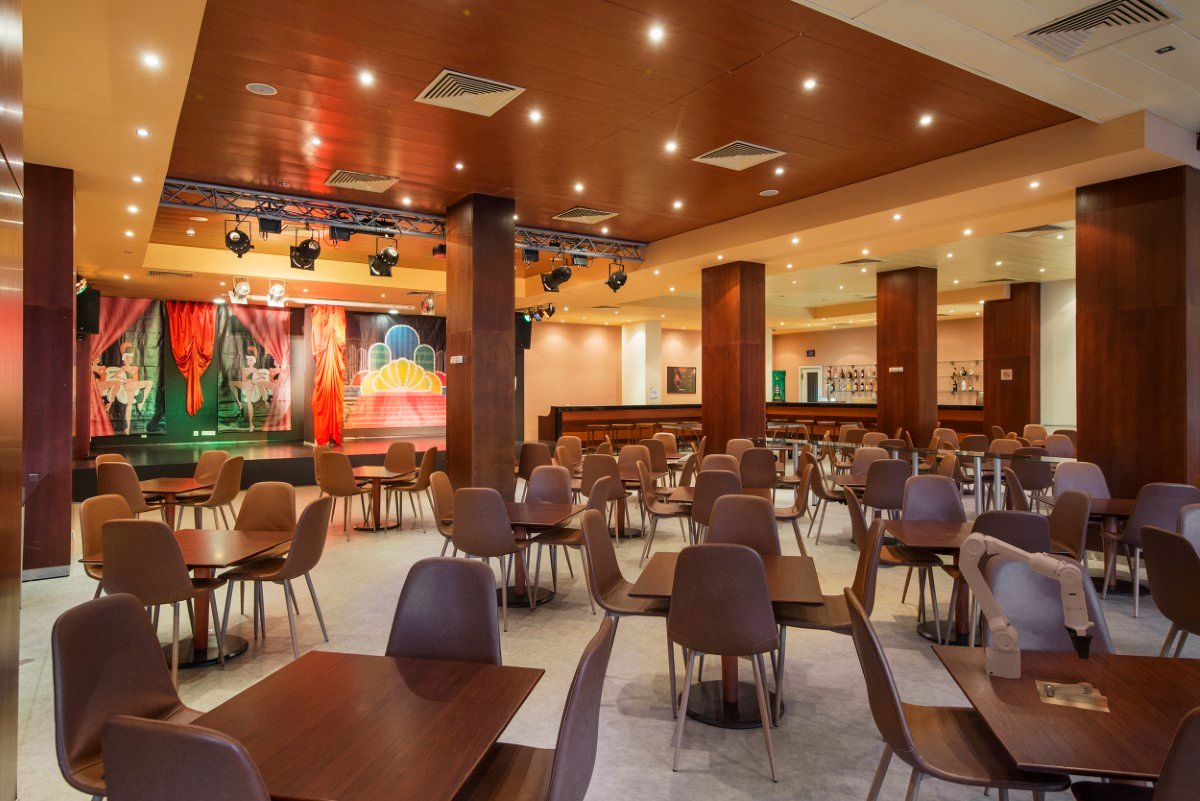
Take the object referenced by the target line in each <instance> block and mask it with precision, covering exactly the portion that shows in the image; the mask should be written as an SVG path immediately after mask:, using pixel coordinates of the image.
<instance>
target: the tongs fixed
mask: <svg viewBox="0 0 1200 801" xmlns="http://www.w3.org/2000/svg"><path fill="white" fill-rule="evenodd" d="M1038 690H1039V692H1038V694H1039V698H1040V697H1044V698H1047V697H1054V686H1053V685H1050V684H1044V688H1038V689H1037V691H1038ZM1056 699H1059V700H1066V701H1072V702H1079V703H1086V704H1093V705H1096V706H1101V707H1108V705H1109V704H1108V701H1109V700H1108V697H1107V696H1106V695H1101V696H1100V695H1088V694H1081V693H1074V692H1067V691H1060V690H1056ZM1108 708H1109V707H1108Z"/></svg>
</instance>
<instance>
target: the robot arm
mask: <svg viewBox="0 0 1200 801" xmlns="http://www.w3.org/2000/svg"><path fill="white" fill-rule="evenodd" d="M986 551H987V553H986V554H987V555H994V554H995V555H996V554H1000V555H1002V556H1005V557H1008V558H1011V559H1014V560H1016V561H1019V562H1022V563H1024V564H1027V566H1028V567H1029V569H1030V570H1031V571H1033V572H1035V573H1038V574H1040V575H1043V576H1045V577H1047V578H1050V579H1052V580H1058V582H1059V584H1060V588H1061V590H1060V595H1061V603H1062V608H1063V616H1064V626H1063V627H1064V628H1065V630H1066V631H1067V633H1068V636H1069V637H1070V640H1071V643H1072V646H1073V648H1074V651H1075V652H1076V653H1077V656H1078V658H1079V659H1080V660H1089V657H1090V646H1091V644H1092V641H1093V639H1094V636H1093V634H1087V631H1088V629H1089V628H1090V627H1094V626H1095V623H1094V622H1093V621H1089V616H1088V609H1087V603H1086V596H1085V595H1086V594H1085V590H1083V589H1084V585H1083V583H1082V582H1083V576H1082V575H1083V574H1082V571H1081V569H1080V568H1079V567H1078V566H1076V565H1075V564H1073V563H1068V562H1067V561H1065V560H1062V561H1061V560H1058V559H1056V558H1054V557H1051V556H1048V555H1049V554H1048V553H1047V552H1045V551H1044V552H1042V553H1041V552H1035V553H1030V552H1028V551H1025V550H1024V549H1021V548H1019V547H1016V546H1014V545H1012V544H1010V543H1007V542H1006V541H1002V540H1000V539H998V538H996V537H993V536H991V535H987V534H986V535H985V534H983V533H981V532H972V533H970V534H969V535H968V536H966V538H965V539H964V540H963V542H962V544H961V545H960V547H959V559H958V568H959V570H960V573H961V574H962V576H963V578H964V579H965V581H966V583H967V586H968V587H969V589H970V590H971V592H972V594H973V596H974V598H975V600H976V602H977V603H978V605H979V607H980V609H981V611H982V613H983V615H984V616H985V618H986V620H987V623H988V627H989V630H990V632H991V633H992V641H993V645H992V646H985V665H984V671H985V672H986V676H987V675H988V676H993V677H999V678H1005V679H1010V680H1011V679H1012V680H1013V679H1014V680H1015V679H1017V680H1018V679H1020V678H1021V677H1022V676H1021V675H1022V674H1021V670H1022V669H1021V668H1022V666H1021V648H1020V647H1019V646H1018V641H1019V639H1020V633H1019V630H1018V629H1017V628H1016V627H1015V626H1014V624H1011V623H1010V620H1009V619H1008V618H1007V616H1006V615H1004V613H1003V611H1002V609H1001V607H1000V605H999V604H998V602H997V600H996V598H995V596H994V595H993V593H992V591H991V589H990V587H989V585H988V584H987V582H986V579H984V576H983V575H982V572H981V571H980V569H979V568H978V567H979V566H978V564H979V562H980V561H981V560H980V559H981V557H982V556H983V555H984V554H985V552H986Z"/></svg>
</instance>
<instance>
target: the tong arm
mask: <svg viewBox="0 0 1200 801" xmlns="http://www.w3.org/2000/svg"><path fill="white" fill-rule="evenodd" d="M1061 684H1062V685H1053V686H1054V694H1056V690H1060V691H1067V692H1074V693H1093V688H1094V685H1093V684H1091V683H1090V682H1084V681H1083V682H1077V683H1076V684H1075V683H1072V684H1070V683H1067V684H1066V683H1061Z"/></svg>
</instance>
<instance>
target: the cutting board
mask: <svg viewBox="0 0 1200 801" xmlns="http://www.w3.org/2000/svg"><path fill="white" fill-rule="evenodd" d="M1044 684H1050V685H1062V684H1063V683H1058V682H1050V681H1043V680H1037V679H1035V685H1036V689H1037V692H1038V693H1039V690H1038V688H1044ZM1081 694H1088V695H1100V696H1102V693H1101V692H1100V690H1099V689H1098V688H1094V687H1093V693H1081ZM1039 698H1040V702H1041V703H1045V704H1050V705H1051V704H1052V705H1059V706H1065V707H1070V708H1071V707H1073V708H1077V709H1084V710H1092V711H1097V712H1105V713H1111V711H1110V709H1109V707H1101V706H1096V705H1093V704H1086V703H1079V702H1072V701H1066V700H1059V699H1056V694H1054V697H1047V698H1044V697H1040V696H1039Z"/></svg>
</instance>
